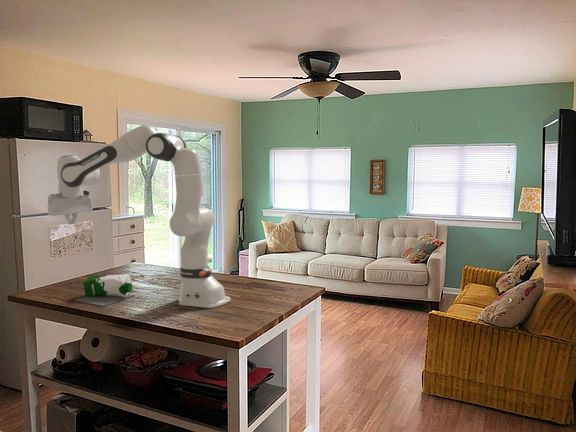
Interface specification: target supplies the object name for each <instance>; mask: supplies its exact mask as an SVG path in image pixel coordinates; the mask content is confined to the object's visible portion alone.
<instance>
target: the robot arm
mask: <svg viewBox="0 0 576 432" xmlns="http://www.w3.org/2000/svg"><path fill="white" fill-rule="evenodd" d="M146 153H147V154H148V155H150V157H152V158H154V159H155V160H159V161H164V162H166V163H167V162H171V164H172V166H173V170H174V179H175V180H174V181H175V191H176V192H175V193H176V194H175V196H176V197H175V205H174V211H173V213H172V215H171V217H170V220H169V229H170V231H171V232H172V233H173V235H175V236H178V237H184V241H183V244H182V246H181V247H180V268H179V275H180V277H181V278H180V280H181V281H180V289H179V295H178V305H179V306H187V307H197V308H199V307H200V308H205V309H206V308H207V309H212V308H217V307H220V306H224V305H225V304H228V303H229V302H231V297H230V296H228V295H226V294H225V293H226V292H225V288H224V286H223V284H221V283H220V282H219V281H218V280H217V279H216V278H215V277H214V276H213V275H212V273H213V272H214V269H213V268H211V269H210V267H209V265H208V264H209V263H208V259H209V258H208V250H209V248H208V246H209V241H210V236H211V232H212V231H211V230H212V228H213V226H214V224H215V220H216V218H215V214H214V212H213V211H212V209H210V208H207V207H205V206H201V199H202V197H203V195H204V193H205V192H204V191H205V190H204V181H203V172H202V165H201V161H200V156H199V154H198V152H197V151H196V150H195V149H193V148H191V147H187V143H186V142H185V140H184V139H183V138H182V137H180V136H179V135H176V134H172V133H169V132H168V133H167V132H158V131H157V130H156V129H155V127H153V126H152V125H150V124H142V125H139V126H137V127H135V128H132V129H130V130H129V131H127V132H126V133H124V134H122V135H121V136H120V137H117V138H116V139H115V140H114V141H112V142H110V143H109V144H107V145H106V146H104V147H102V148H100V149H99V150H97V151H95V152H93V153H91V154H89V155H88V156H86V157H85V158H83V159H82V158H79V157H78V156H77V155H74V154H72V155H71V154H69V155H64V156H61V157H59V158H58V159H57V164H56V173H57V179H58V187H57V188H58V190H57V191H58V193H52V194H50V195H48V197H47V214H48V215H49V217H50V216H51V217H56V216H57V217H58V216H64V218H65V219H66V220H67V224H68V225H75V224H77V218H78V216H79V214H81V213H90V212H93V209H94V205H93V204H94V203H93V199H92V197H91V195H92V193H91V192H92V191H91V190H87V189H84V188H82V186H90V185H91V186H92V185H95V184H97V183H98V182H99V181H100V179H101V177H102V176H101V170H100V168H103V167H105V166H107V165H111V164H112V165H113V164H120V163H121V164H122V163H123V164H124V163H128V162H131V161H134V160H137V159H138V158H140V157H142V156H144V155H145V154H146ZM71 216H72V219H71Z"/></svg>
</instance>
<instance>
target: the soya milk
mask: <svg viewBox="0 0 576 432" xmlns="http://www.w3.org/2000/svg"><path fill="white" fill-rule="evenodd" d="M82 285H83V290H84V294H85V297H91V296H119V297H126V296H127V295H130V293H131V292H132V291H133V285H132V281H131V275H130V273H124V274H103V275H101V274H100V275H99V274H97V275H96V274H95V275H93V274H90V275H89V276H88V277H87V278H85V280H84V281H83V282H82Z"/></svg>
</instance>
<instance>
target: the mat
mask: <svg viewBox="0 0 576 432" xmlns="http://www.w3.org/2000/svg"><path fill="white" fill-rule="evenodd" d="M133 297H134V295H131V294H128V295H127V296H126V297H119V296H91V297H86V296H85V297H81V298H77V299H75V302H79V303H84V304H88V305H92V306H98V307H106V306H109V305H112V304H114V303H115V304H116V303H119V302H121V301H124V300H127V299H131V298H133Z"/></svg>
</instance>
